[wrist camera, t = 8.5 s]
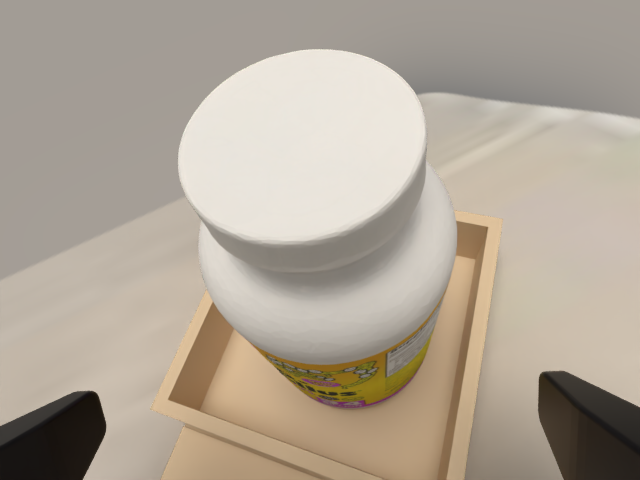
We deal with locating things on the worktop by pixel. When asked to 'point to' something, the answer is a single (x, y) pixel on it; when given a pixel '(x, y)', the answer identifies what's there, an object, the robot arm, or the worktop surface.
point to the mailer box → (324, 421)
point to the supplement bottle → (322, 221)
